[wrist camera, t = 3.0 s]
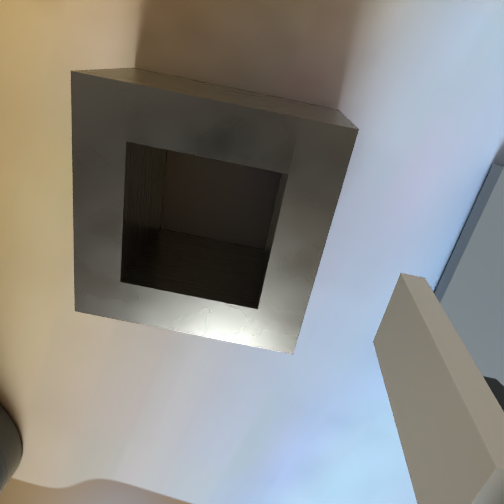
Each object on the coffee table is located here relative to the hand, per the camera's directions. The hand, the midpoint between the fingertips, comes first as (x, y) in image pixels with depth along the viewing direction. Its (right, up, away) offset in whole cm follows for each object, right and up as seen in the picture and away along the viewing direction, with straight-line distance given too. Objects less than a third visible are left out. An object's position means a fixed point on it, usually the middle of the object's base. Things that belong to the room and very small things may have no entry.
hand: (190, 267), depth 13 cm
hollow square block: (0, +4, +8) cm, 9 cm away
